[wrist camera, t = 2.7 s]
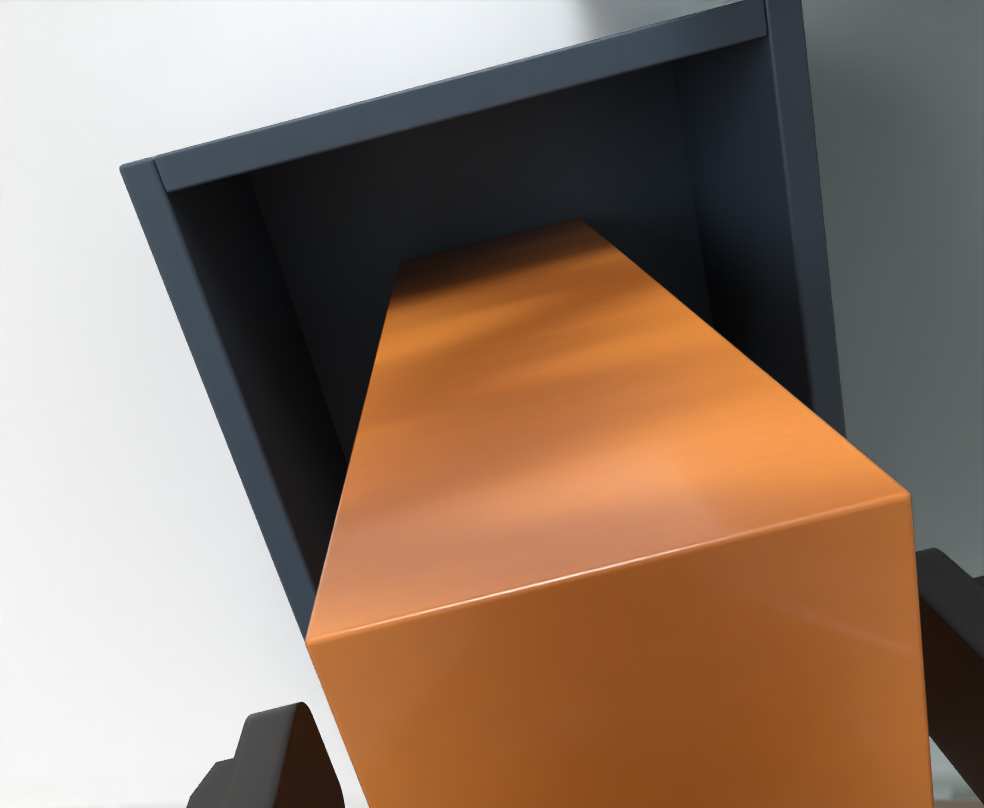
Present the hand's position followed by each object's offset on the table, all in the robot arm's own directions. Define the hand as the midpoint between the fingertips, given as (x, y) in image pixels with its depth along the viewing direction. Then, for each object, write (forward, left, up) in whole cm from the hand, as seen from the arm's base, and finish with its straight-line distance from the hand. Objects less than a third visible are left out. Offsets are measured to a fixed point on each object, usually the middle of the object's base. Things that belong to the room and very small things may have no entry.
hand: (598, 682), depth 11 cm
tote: (0, 0, -11) cm, 11 cm away
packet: (0, 0, -11) cm, 11 cm away
